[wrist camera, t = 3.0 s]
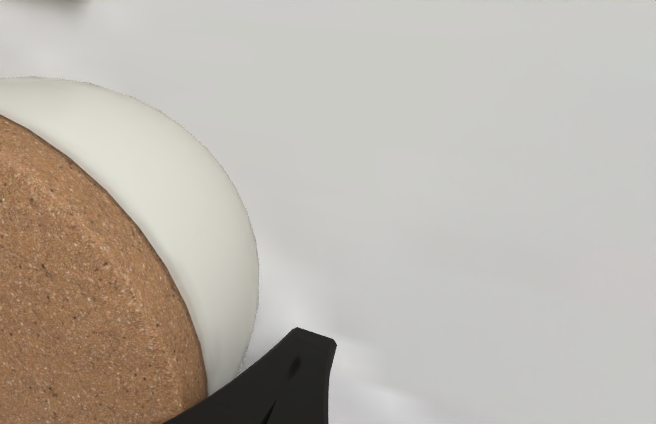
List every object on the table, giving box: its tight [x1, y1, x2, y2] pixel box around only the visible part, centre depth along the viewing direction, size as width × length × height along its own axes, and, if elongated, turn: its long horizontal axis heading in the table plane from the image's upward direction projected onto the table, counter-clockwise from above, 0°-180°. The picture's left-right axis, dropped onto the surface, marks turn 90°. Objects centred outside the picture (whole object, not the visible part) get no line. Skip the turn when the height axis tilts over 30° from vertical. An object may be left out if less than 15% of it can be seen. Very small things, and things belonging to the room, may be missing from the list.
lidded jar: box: [0, 76, 259, 424], centre depth 14 cm, size 11×11×9 cm
